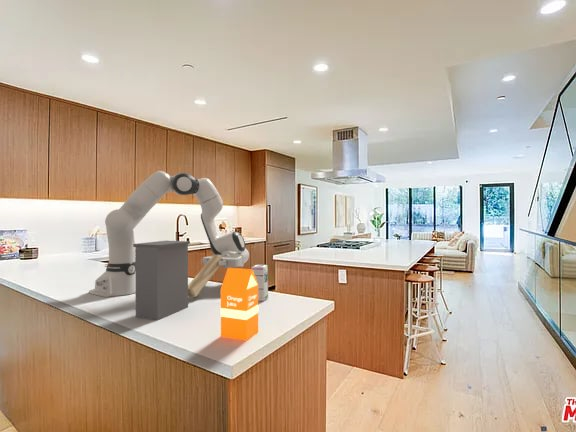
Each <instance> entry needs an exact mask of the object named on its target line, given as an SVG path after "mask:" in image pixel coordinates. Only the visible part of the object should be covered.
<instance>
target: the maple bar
mask: <svg viewBox="0 0 576 432" xmlns="http://www.w3.org/2000/svg"><path fill="white" fill-rule="evenodd" d="M211 256H212V257H211V258H210V260H209V261H208V262H207V263H206V264H205V265H204V266H203V267H202V268H201V269H200V270H199V272H198V273H197V274H196V275H195V277H194V278H193V279H192V280H191V282H189V283H188V297H193V298H197V297H198V295H199V294H200V293H201V292H202V290H203V289H204V287H205V286H206V285H207V283H208V282H209V281H210V280H211V278H212V277H213V275H214V274H215V273H216V271H217V270H218V269H219V268H220V266H219V265H217V262H218V261H223V260H222V257H221V255H215V254H213V255H211Z"/></svg>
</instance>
